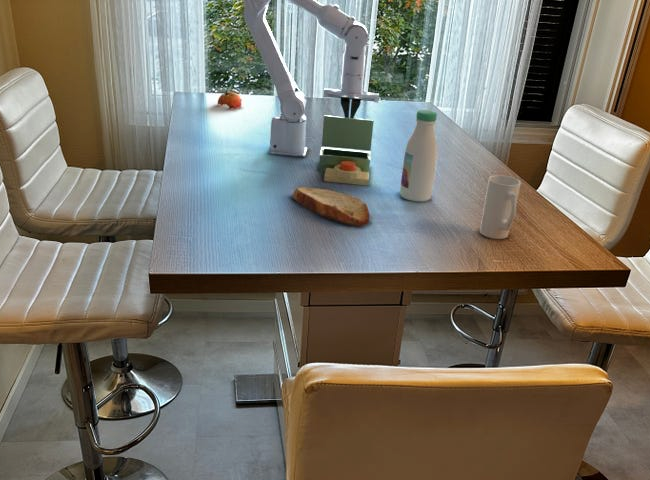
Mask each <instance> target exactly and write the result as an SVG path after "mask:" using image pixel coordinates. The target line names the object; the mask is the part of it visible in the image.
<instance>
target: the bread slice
mask: <svg viewBox="0 0 650 480" xmlns="http://www.w3.org/2000/svg"><path fill="white" fill-rule="evenodd" d="M291 198H292V199H293V200H294V201H295V202H297V203H298V204H299V205H301V206H302V207H304V208H306V209H307V210H310V211H311V212H313V213H316V214H317V215H318V216H321V217H323V218H325V219H329V220H330V221H332V222H337V223H340V224H342V225H347V226H351V227H363V226H365V225H367V224H369V222H370V211H369V208H368V206H367V205H368V204H367V203H366V202H364V201H363V200H362V199H360V198H358V197H355V196H352V195H350V194H346V193H340V192H337V191H333V190H330V189H325V188H323V189H322V188H316V187H296V188H295V190H294V191H293V194H292V196H291Z"/></svg>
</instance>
